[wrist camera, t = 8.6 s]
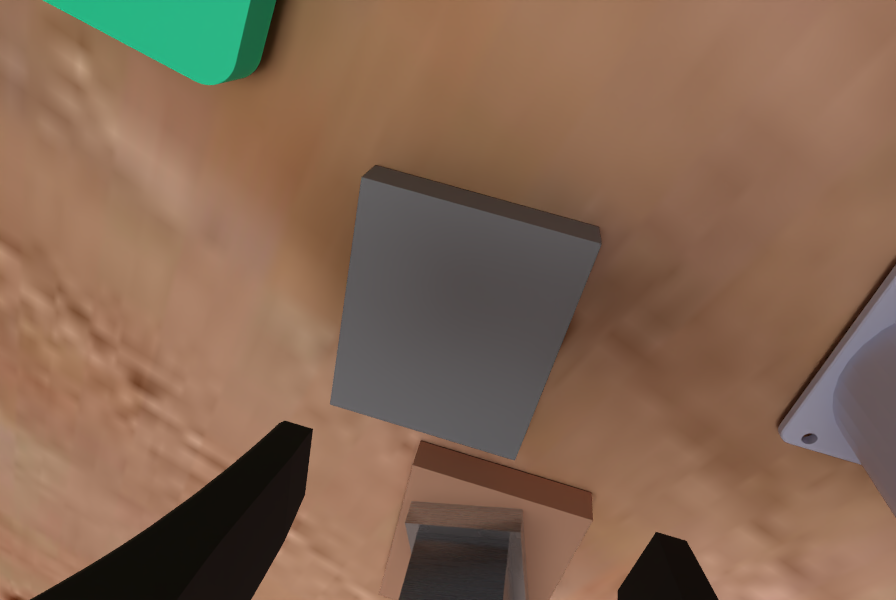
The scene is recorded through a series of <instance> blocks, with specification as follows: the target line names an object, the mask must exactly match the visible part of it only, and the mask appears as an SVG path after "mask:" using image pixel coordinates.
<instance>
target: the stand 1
mask: <svg viewBox="0 0 896 600" xmlns="http://www.w3.org/2000/svg"><path fill="white" fill-rule="evenodd" d="M601 244H602V243H601V236H600V230H599V227H597V226H594V225H590V224H586V223H583V222H579V221H576V220H572V219H568V218H565V217H561V216H558V215H554V214H550V213H547V212H543V211H540V210H536V209H532V208H529V207H525V206H522V205H518V204H514V203H511V202H507V201H503V200H500V199H496V198H493V197H489V196H485V195H482V194H478V193H475V192H471V191H467V190H464V189H460V188H457V187H453V186H449V185H446V184H442V183H438V182H435V181H431V180H428V179H424V178H420V177H417V176H413V175H410V174H406V173H402V172H399V171H395V170H392V169H388V168H384V167H381V166H377V165H375V166H374V167H373V168H372V169H370V170H369V171H368V172H367V173H366V174H365V175H363V176H362V178H361V185H360V192H359V199H358V207H357V214H356V221H355V228H354V235H353V243H352V250H351V257H350V264H349V271H348V279H347V286H346V293H345V300H344V307H343V315H342V322H341V329H340V336H339V343H338V351H337V358H336V365H335V372H334V379H333V387H332V394H331V401H330V404H331V405H334V406H337V407H340V408H344V409H347V410H350V411H354V412H357V413H360V414H363V415H367V416H370V417H373V418H377V419H380V420H383V421H387V422H390V423H393V424H396V425H400V426H403V427H406V428H410V429H413V430H416V431H419V432H423V433H426V434H429V435H433V436H436V437H439V438H442V439H446V440H449V441H452V442H456V443H459V444H462V445H465V446H469V447H472V448H475V449H479V450H482V451H485V452H489V453H492V454H495V455H498V456H502V457H505V458H508V459H512V460H515V459H516V456H517V454H518V451H519V449H520V446H521V444H522V441H523V439H524V436H525V434H526V431H527V429H528V426H529V424H530V421H531V419H532V416H533V414H534V411H535V409H536V406H537V404H538V401H539V399H540V396H541V394H542V391H543V389H544V386H545V384H546V381H547V379H548V376H549V374H550V372H551V369H552V367H553V364H554V362H555V359H556V357H557V354H558V352H559V349H560V347H561V344H562V342H563V339H564V337H565V334H566V332H567V329H568V327H569V324H570V322H571V319H572V317H573V314H574V312H575V309H576V307H577V304H578V302H579V299H580V297H581V294H582V292H583V289H584V287H585V284H586V282H587V279H588V277H589V274H590V272H591V269H592V267H593V264H594V262H595V259H596V257H597V254H598V252H599V249H600V247H601Z"/></svg>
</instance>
